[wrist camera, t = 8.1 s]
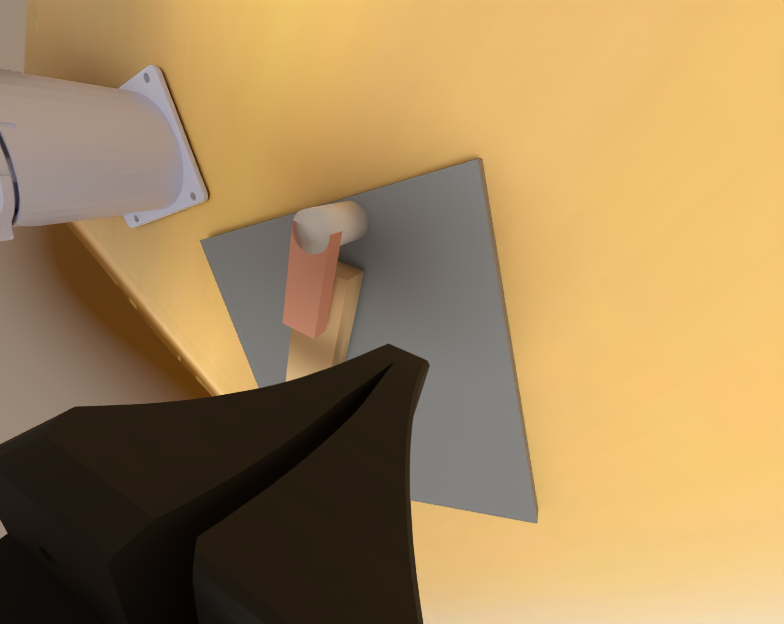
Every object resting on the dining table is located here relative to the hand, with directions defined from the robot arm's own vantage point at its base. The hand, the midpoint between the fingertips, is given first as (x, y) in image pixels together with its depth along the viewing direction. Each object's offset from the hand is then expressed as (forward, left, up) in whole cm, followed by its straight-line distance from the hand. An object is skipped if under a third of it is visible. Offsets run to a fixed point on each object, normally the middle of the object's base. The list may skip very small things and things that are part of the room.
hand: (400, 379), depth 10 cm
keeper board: (-8, -5, -9) cm, 13 cm away
